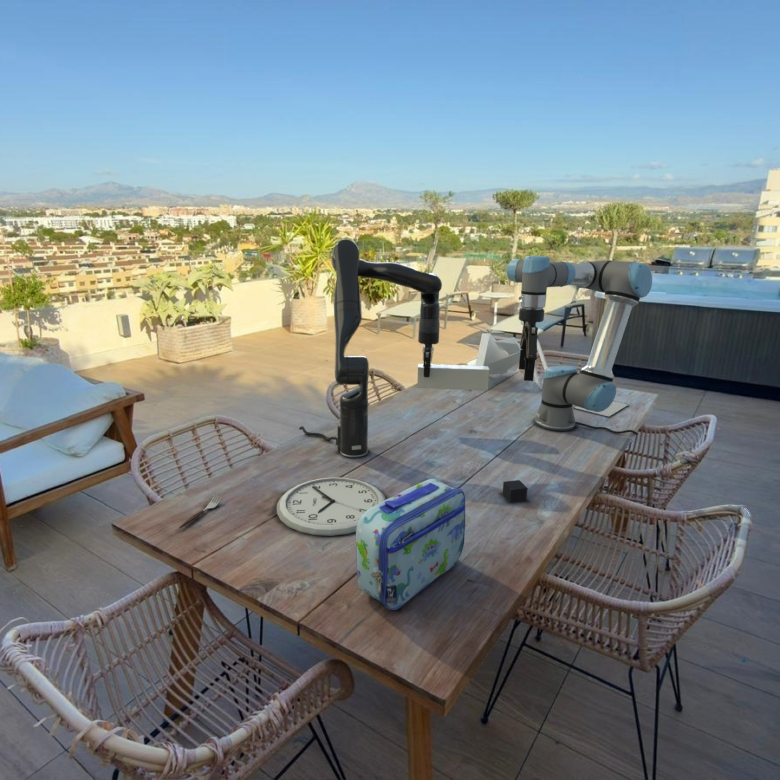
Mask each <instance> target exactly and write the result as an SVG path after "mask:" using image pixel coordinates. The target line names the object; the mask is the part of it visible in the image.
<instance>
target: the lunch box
mask: <svg viewBox="0 0 780 780" xmlns="http://www.w3.org/2000/svg"><path fill="white" fill-rule="evenodd" d="M465 532H466V495H465V492H464V491H463V490H462V489H461V488H453V487H451V486H449V485H447V484H445V483H443V482H442V481H440V480H437V479H435V478H430V479H426V480H424V481H422V482H420V483H417V484H415V485H413V486H411V487H409V488H407V489H405V490H403V491H401V492H399V493H397V494H395V495H393V496H391V497H389V498H386V500H385V501H383V502H381V503H379V504H377V505H375V506H373V507H371V508H369V509H368V510H366V511H365V512H364V513H363V515H362V516H361V518H360V520H359V522H358V525H357V529H356V532H355V551H356V579H357V580H356V581H357V585H358V588H359V590H360V591H361V592H363V593H365V594H366V595H369V596H371V597H372V598H374V599H375V600H376V601H378V602H380V603H381V604H382V606H383V607H384V608H386V609H388V610H391V611H397V610H399V609H401V608H402V607H403V606H405V604H406V603H407V602H409V601H410V600H412V598H414V597H415V596H417V594H419V593H421V592H422V591H423V590H425V588H426V587H428V586H430V585H431V584H432V583H433V582H434V581H435V580H436V579H438V578H439V577H440V576H442V575H444V574H446V572H448V571H450V570H451V569H452V568H453V567H454V566H455V565H456V564H457V563H458V561H459V559H460V558H461V555H462V552H463V549H464V546H465V545H464V544H465V536H466V535H465V534H466V533H465Z"/></svg>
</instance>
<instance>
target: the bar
mask: <svg viewBox="0 0 780 780" xmlns="http://www.w3.org/2000/svg"><path fill="white" fill-rule="evenodd" d="M423 365H424V363H418V364H417V382H416V383H417V387H416V388H418V389H435V390H458V391H459V390H463V391H464V390H465V391H484V392H485V391H488V390H489V380H490V375H489V368H488V366H468V365H467V364H466V365H464V364H438V363H437V364H433V363H431V364H430V365H431V367H430V377H424V367H423Z"/></svg>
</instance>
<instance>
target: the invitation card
mask: <svg viewBox="0 0 780 780" xmlns="http://www.w3.org/2000/svg"><path fill="white" fill-rule="evenodd" d="M628 406H629V404H627V403H623V402H618V401H614V400H613V402H612V403H611V405H610V406H609V407H608V408H606V409H605V410H604V411H601V412H595V411H589V410H586V409H584V408H581V407H578V406H574V407H573V409H575V410H581V411H584V412H587V413H593V414H596V415H600V416H604V417H608V418H609V417H611V416H613V415H614V414H616V413H617V412H619V411H621V410H623V409H624V408H626V407H628Z"/></svg>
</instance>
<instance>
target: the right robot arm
mask: <svg viewBox="0 0 780 780" xmlns="http://www.w3.org/2000/svg"><path fill="white" fill-rule="evenodd" d="M506 277H507V278H508V281H511V282H514V283H521V290H520V296H518V300H519V307H520V309H519V311H518V320H519V321H520V322H522V321H523V323H522V329H521V331H522V332H521V335H520V342H519V343H520V348H521V349H522V350H520V360H519V363H518V370H523V371H524V373H523V381H524V382H534V367H536V361H537V360H538V351H537V339H538V332H539V328H538V327H537V323H541V322H543V321H544V319H545V309H544V308H546V303H547V302H546V301H547V290H548V288H558V287H559V288H563V287H566V286H575V287H576V288H578V289H586V290H589V291H594V292H599V293H604V296H603V297H604V299H605V300H606V304H605V306H604V310H603V313H602V316H601V319H600V322H599V325H598V328H597V333H595V337H594V341H593V343H592V347H591V351H590V353H589V356H588V360H587V363H586V365H585V366H583V367H582V368H580V370H579V372H578V368H577V367H575V366H571V365H570V366H569V365H557V366H556V365H555V366H550V367H549V366H548V368H547V369H546V370H544V375H543V378H542V379H543V381H542V382H543V383H542V390H541V391H542V394H541V402H540V405H539V407H538V410H537V411H536V413H535V416H534V424H535V425H536V426H537V427H539V428H542V429H544V430H549V431H556V432H567V431H572V430H574V429H575V428H576V425H579V426H581V427H586V428H588V429H593V430H604V431H608V432H609V433H612V434H616V435H617V434H618V435H621V434H625V433H633V434H634V435H636V436H638V435H639V433H638V432H637V431H635V430H633V429H625V430H621V431H620V430H619V431H617V430H613V429H611V428H609V427H605V426H593V425H590V424H586V423H583V422H579V421H576V418H575V417H576V416H575V413H574V407H576V406H578V407H581V408H584V409H586V410H589V411H595V412H601V411H604V410H605V409H606V408H608V407H609V406H610V405H611V403H612V402H613V401H614V400H615V398H616V395H617V386H616V384H615V383H614V379H615V378H614V376H613V374H612V370H613V368H614V367H613V366H614V363H615V362H616V358H617V354H618V352H619V348H620V345H621V343H622V339H623V336H624V333H625V331H626V327H627V324H628V321H629V318H630V315H631V312H632V309H633V308H634V307H635V306H637V305H638V304H639V302H640V300H641V299H643V298H645V297H647V296H648V294H649V293H650V292H651V290H652V285H653V274H652V270H651V268H650V266H649V265H648V264H646V263H644V262H639V261H638V262H637V261H626V260H625V261H624V260H610V259H606V260H604V259H603V260H592V261H586V260H582V261H579V262H577V263H576V262H575V263H574V262H568V261H562V260H561V261H551V259H550V257H549V256H547V255H527V256H526V257H525V258H515V259H512V260H510V261H509V263H508V265H507V266H506ZM573 406H574V407H573Z"/></svg>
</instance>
